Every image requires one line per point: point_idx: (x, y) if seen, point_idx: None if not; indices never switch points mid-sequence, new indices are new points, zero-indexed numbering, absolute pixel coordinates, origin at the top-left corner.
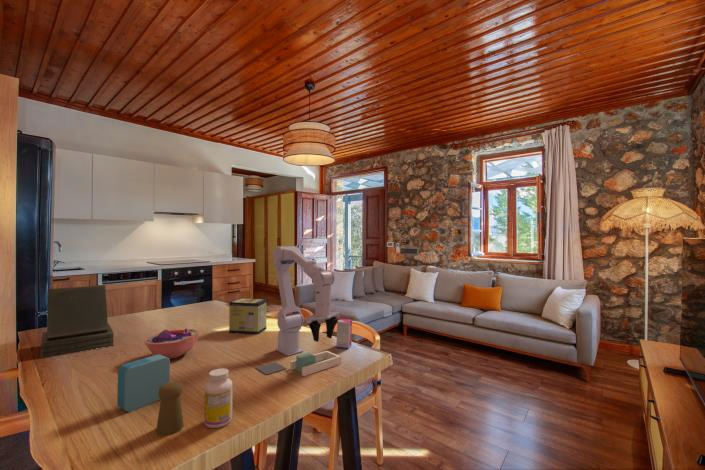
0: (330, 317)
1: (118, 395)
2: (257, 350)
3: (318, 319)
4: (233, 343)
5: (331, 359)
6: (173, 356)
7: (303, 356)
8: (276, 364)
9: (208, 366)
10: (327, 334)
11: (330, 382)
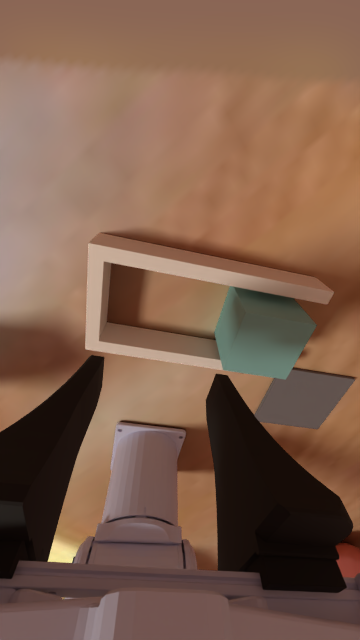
0: (148, 615)
1: None
2: (202, 493)
3: (265, 604)
4: (201, 538)
5: (162, 257)
6: (355, 547)
7: (278, 353)
8: (269, 407)
9: (348, 491)
10: (96, 399)
11: (330, 112)
